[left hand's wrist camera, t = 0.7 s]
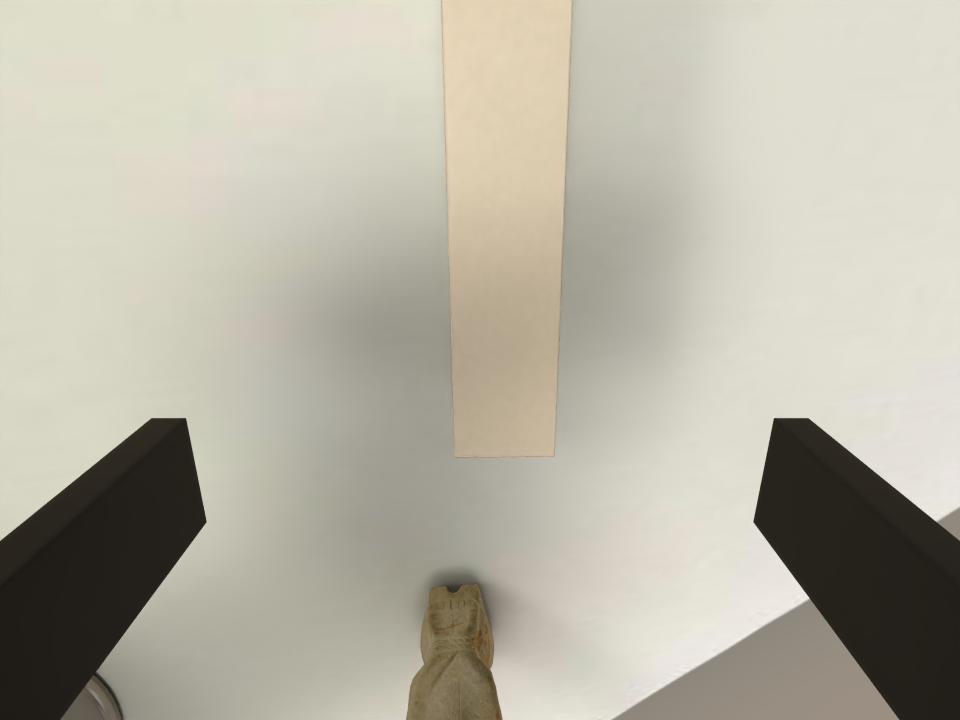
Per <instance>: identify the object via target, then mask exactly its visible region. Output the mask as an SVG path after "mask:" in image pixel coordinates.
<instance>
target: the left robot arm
mask: <svg viewBox="0 0 960 720" xmlns="http://www.w3.org/2000/svg"><path fill="white" fill-rule="evenodd" d="M205 524H206V516H205V511H204V506H203V501H202V496H201V491H200V486H199V481H198V476H197V471H196V466H195V461H194V456H193V451H192V446H191V441H190V436H189V431H188V426H187V421H186V418H151V419H150V420H149V421H148V422H146V423H145V424H144V425H143V426H142V427H140V428H139V429H138V430H137V431H135V432H134V433H133V434H132V435H130V436H129V437H128V438H127V439H126V440H124V441H123V442H122V443H121V444H119V445H118V446H117V447H116V448H114V449H113V450H112V451H111V452H109V453H108V454H107V455H106V456H105V457H103V458H102V459H101V460H100V461H98V462H97V463H96V464H95V465H93V466H92V467H91V468H90V469H89V470H87V471H86V472H85V473H84V474H82V475H81V476H80V477H79V478H77V479H76V480H75V481H74V482H72V483H71V484H70V485H69V486H68V487H66V488H65V489H64V490H63V491H61V492H60V493H59V494H58V495H56V496H55V497H54V498H53V499H51V500H50V501H49V502H48V503H47V504H45V505H44V506H43V507H42V508H40V509H39V510H38V511H37V512H35V513H34V514H33V515H32V516H31V517H29V518H28V519H27V520H26V521H24V522H23V523H22V524H21V525H19V526H18V527H17V528H16V529H14V530H13V531H12V532H11V533H10V534H8V535H7V536H6V537H5V538H3V539H2V540H1V541H0V720H121V716H120V712H119V709H118V707H117V704H116V702H115V700H114V699H113V697H112V695H111V694H110V692H109V691H108V689H107V688H106V687H105V686H104V685H103V683H102V682H101V681H100V680H99V679H98V678H97V677H96V676H95V675H94V674H95V672H96V671H97V670H98V668H99V667H100V666H101V664H102V663H103V662H104V660H105V659H106V657H107V656H108V655H109V653H110V652H111V651H112V649H113V648H114V647H115V645H116V644H117V643H118V641H119V640H120V639H121V637H122V636H123V634H124V633H125V632H126V630H127V629H128V628H129V626H130V625H131V624H132V622H133V621H134V620H135V618H136V617H137V616H138V614H139V613H140V611H141V610H142V609H143V607H144V606H145V605H146V603H147V602H148V601H149V599H150V598H151V597H152V595H153V594H154V593H155V591H156V590H157V588H158V587H159V586H160V584H161V583H162V582H163V580H164V579H165V578H166V576H167V575H168V574H169V572H170V571H171V570H172V568H173V567H174V565H175V564H176V563H177V561H178V560H179V559H180V557H181V556H182V555H183V553H184V552H185V551H186V549H187V548H188V547H189V545H190V544H191V542H192V541H193V540H194V538H195V537H196V536H197V534H198V533H199V532H200V530H201V529H202V528H203V526H204V525H205ZM754 524H755V525H756V526H757V528H758V529H759V530H760V532H761V533H762V534H763V536H764V537H765V538H766V540H767V541H768V542H769V544H770V545H771V547H772V548H773V549H774V551H775V552H776V553H777V555H778V556H779V557H780V559H781V560H782V561H783V563H784V564H785V565H786V567H787V568H788V570H789V571H790V572H791V574H792V575H793V576H794V578H795V579H796V580H797V582H798V583H799V584H800V586H801V587H802V588H803V590H804V591H805V593H806V594H807V595H808V597H809V598H810V599H811V601H812V602H813V603H814V605H815V606H816V607H817V609H818V610H819V611H820V613H821V614H822V615H823V617H824V618H825V620H826V621H827V622H828V624H829V625H830V626H831V628H832V629H833V630H834V632H835V633H836V634H837V636H838V637H839V639H840V640H841V641H842V643H843V644H844V645H845V647H846V648H847V649H848V651H849V652H850V653H851V655H852V656H853V657H854V659H855V660H856V661H857V663H858V664H859V666H860V667H861V668H862V670H863V671H864V672H865V674H866V675H867V676H868V678H869V679H870V680H871V682H872V683H873V684H874V686H875V687H876V689H877V690H878V691H879V693H880V694H881V695H882V697H883V698H884V699H885V701H886V702H887V703H888V705H889V706H890V708H891V709H892V710H893V712H894V713H895V714H896V716H897V717H898V718H899V720H960V541H959V540H958V539H957V538H955V537H954V536H953V535H952V534H950V533H949V532H948V531H947V530H946V529H944V528H943V527H942V526H941V525H939V524H938V523H937V522H936V521H934V520H933V519H932V518H931V517H929V516H928V515H927V514H926V513H925V512H923V511H922V510H921V509H920V508H918V507H917V506H916V505H915V504H913V503H912V502H911V501H910V500H909V499H907V498H906V497H905V496H904V495H902V494H901V493H900V492H899V491H897V490H896V489H895V488H894V487H892V486H891V485H890V484H889V483H888V482H886V481H885V480H884V479H883V478H881V477H880V476H879V475H878V474H876V473H875V472H874V471H873V470H871V469H870V468H869V467H868V466H867V465H865V464H864V463H863V462H862V461H860V460H859V459H858V458H857V457H855V456H854V455H853V454H852V453H851V452H849V451H848V450H847V449H846V448H844V447H843V446H842V445H841V444H839V443H838V442H837V441H836V440H834V439H833V438H832V437H831V436H830V435H828V434H827V433H826V432H825V431H823V430H822V429H821V428H820V427H818V426H817V425H816V424H815V423H814V422H812V421H811V420H810V419H809V418H774V421H773V426H772V431H771V436H770V441H769V446H768V451H767V456H766V461H765V466H764V471H763V476H762V481H761V486H760V491H759V496H758V501H757V506H756V511H755V516H754Z"/></svg>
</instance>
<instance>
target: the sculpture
mask: <svg viewBox="0 0 960 720" xmlns="http://www.w3.org/2000/svg"><path fill="white" fill-rule="evenodd" d="M421 653H422V658H423V661H424V666H423V667H422V668H421V669H420V670H419V672H418V673H417V674H416V675H415V677H414V678H413V680H412V683H411V687H410V693H409V703H408V712H407V718H406V720H503V719H502V714H501V710H500V706H499V702H498V697H497V691H496V686H495V683H494V680H493V676H492V672H491V670H490V669H491V666H492V663H493V656H494V641H493V635H492V631H491V627H490V624H489V621H488V618H487V615H486V612H485V608H484V604H483V600H482V597H481V592H480V589H479V586H478V585H477V584H464V585H461V587H460V588H459V590H458V591H457V592H455V593H451V592H450V591H449V588H448V587H447V586H439V587H434V588H432V589H431V590H430V595H429V605H428V608H427V610H426V613H425V616H424V620H423V625H422V632H421Z"/></svg>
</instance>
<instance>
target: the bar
mask: <svg viewBox="0 0 960 720" xmlns="http://www.w3.org/2000/svg"><path fill="white" fill-rule="evenodd" d="M441 9H442V44H443V78H444V113H445V147H446V182H447V216H448V251H449V285H450V320H451V354H452V389H453V423H454V456H455V457H456V458H465V457H553V456H554V455H555V435H556V410H557V385H558V360H559V335H560V310H561V285H562V260H563V235H564V210H565V185H566V160H567V135H568V110H569V85H570V60H571V35H572V10H573V0H441Z"/></svg>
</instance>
